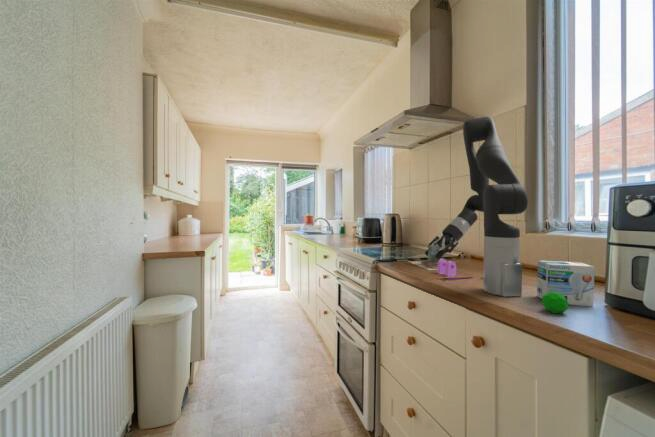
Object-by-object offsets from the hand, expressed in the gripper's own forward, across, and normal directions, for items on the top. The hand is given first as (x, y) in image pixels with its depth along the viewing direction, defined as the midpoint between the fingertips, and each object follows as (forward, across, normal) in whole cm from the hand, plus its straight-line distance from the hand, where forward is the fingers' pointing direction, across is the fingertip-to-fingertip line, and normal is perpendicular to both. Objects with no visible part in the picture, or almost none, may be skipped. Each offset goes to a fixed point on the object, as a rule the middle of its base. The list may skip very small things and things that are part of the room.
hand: (431, 256), depth 117 cm
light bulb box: (-6, +44, +15) cm, 47 cm away
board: (+4, -4, +5) cm, 7 cm away
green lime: (+2, +51, +7) cm, 51 cm away
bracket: (+3, +14, +6) cm, 16 cm away
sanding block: (+3, 0, +4) cm, 5 cm away
